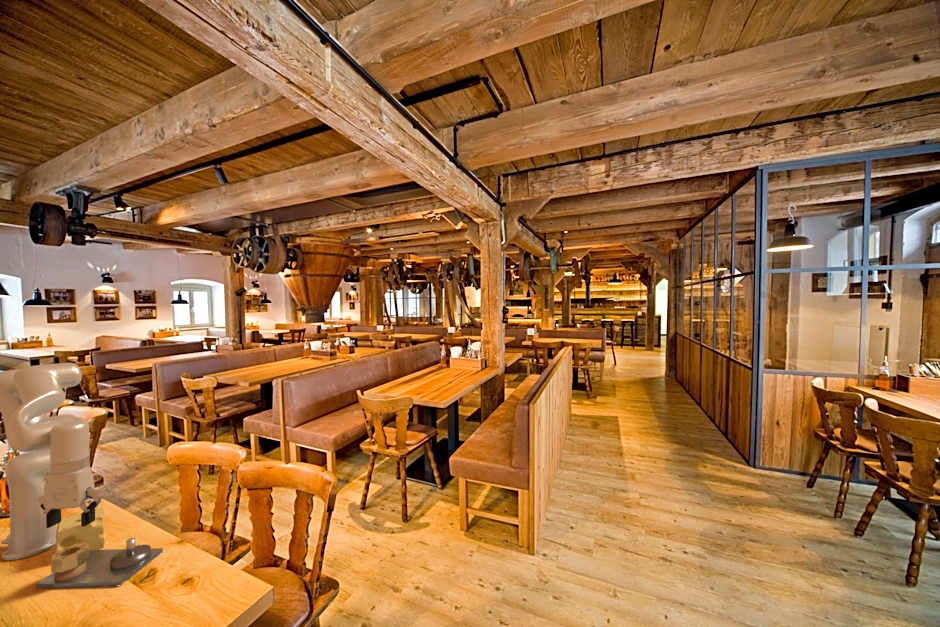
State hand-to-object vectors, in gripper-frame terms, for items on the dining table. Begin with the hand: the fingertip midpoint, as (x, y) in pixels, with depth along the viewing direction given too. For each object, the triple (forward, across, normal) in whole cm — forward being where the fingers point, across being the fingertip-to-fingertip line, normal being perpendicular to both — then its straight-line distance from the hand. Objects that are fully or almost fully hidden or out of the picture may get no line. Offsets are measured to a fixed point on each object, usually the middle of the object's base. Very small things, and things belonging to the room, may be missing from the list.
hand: (71, 524), depth 100 cm
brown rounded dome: (+16, -1, 0) cm, 16 cm away
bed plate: (+16, +5, +4) cm, 17 cm away
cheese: (+16, -12, +13) cm, 24 cm away
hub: (+16, +11, +6) cm, 20 cm away
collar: (+12, -1, 0) cm, 12 cm away
